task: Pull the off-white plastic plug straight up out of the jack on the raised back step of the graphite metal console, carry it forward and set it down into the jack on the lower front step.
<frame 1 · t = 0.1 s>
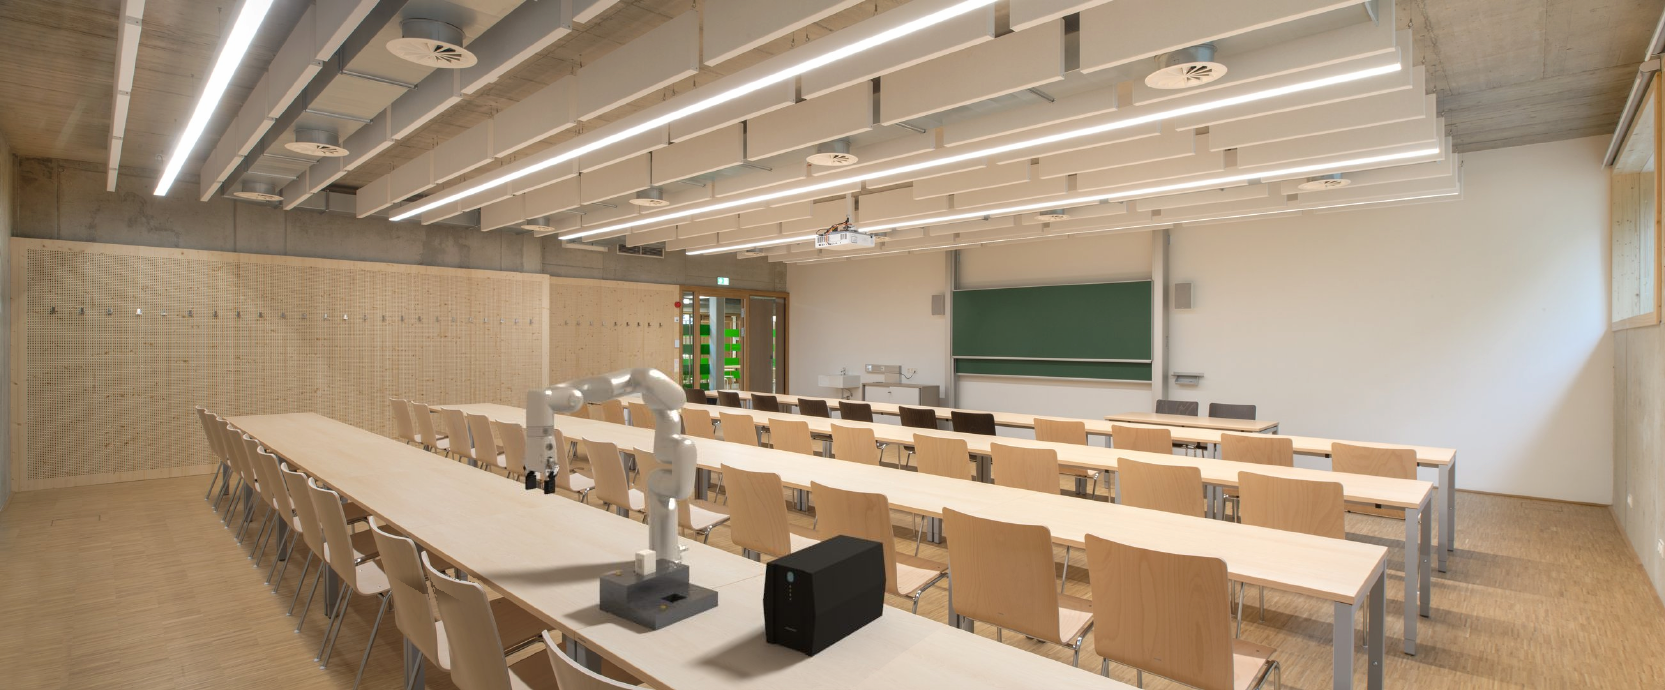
hand: (540, 491, 210), 31 cm above the table, tool pointing down, fingers open, 9 cm apart
plug: (645, 579, 208), point 6 cm above the table, touching console
uninterruptible power supply: (828, 628, 191), on the table
console: (659, 607, 204), on the table
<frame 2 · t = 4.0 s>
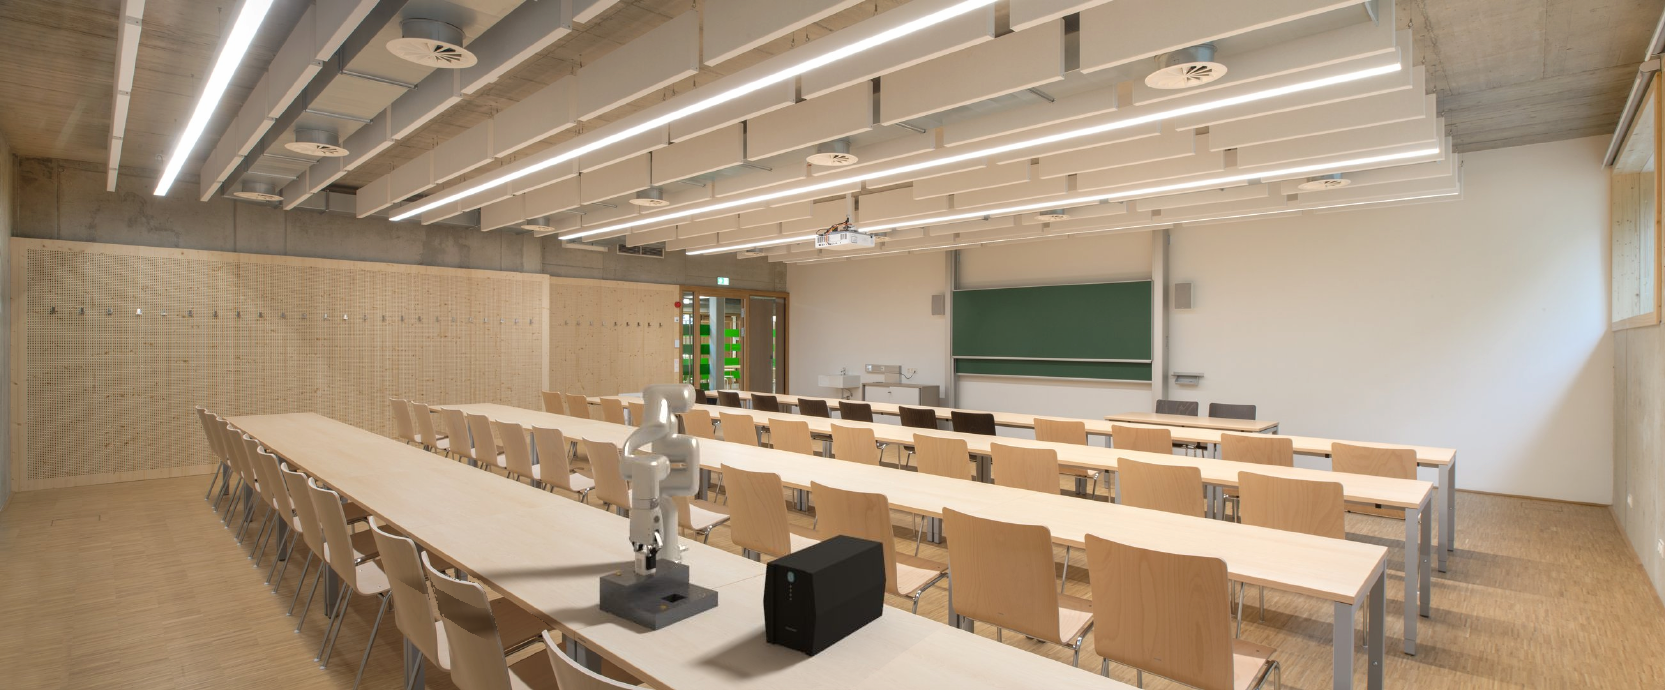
hand: (645, 566, 208), 10 cm above the table, tool pointing down, fingers closed on plug, 4 cm apart
plug: (645, 579, 208), point 7 cm above the table, touching gripper
everything else where it was.
when the fingers open (6 cm above the table, at t = 12.4 s): plug stays where it is, resting on console.
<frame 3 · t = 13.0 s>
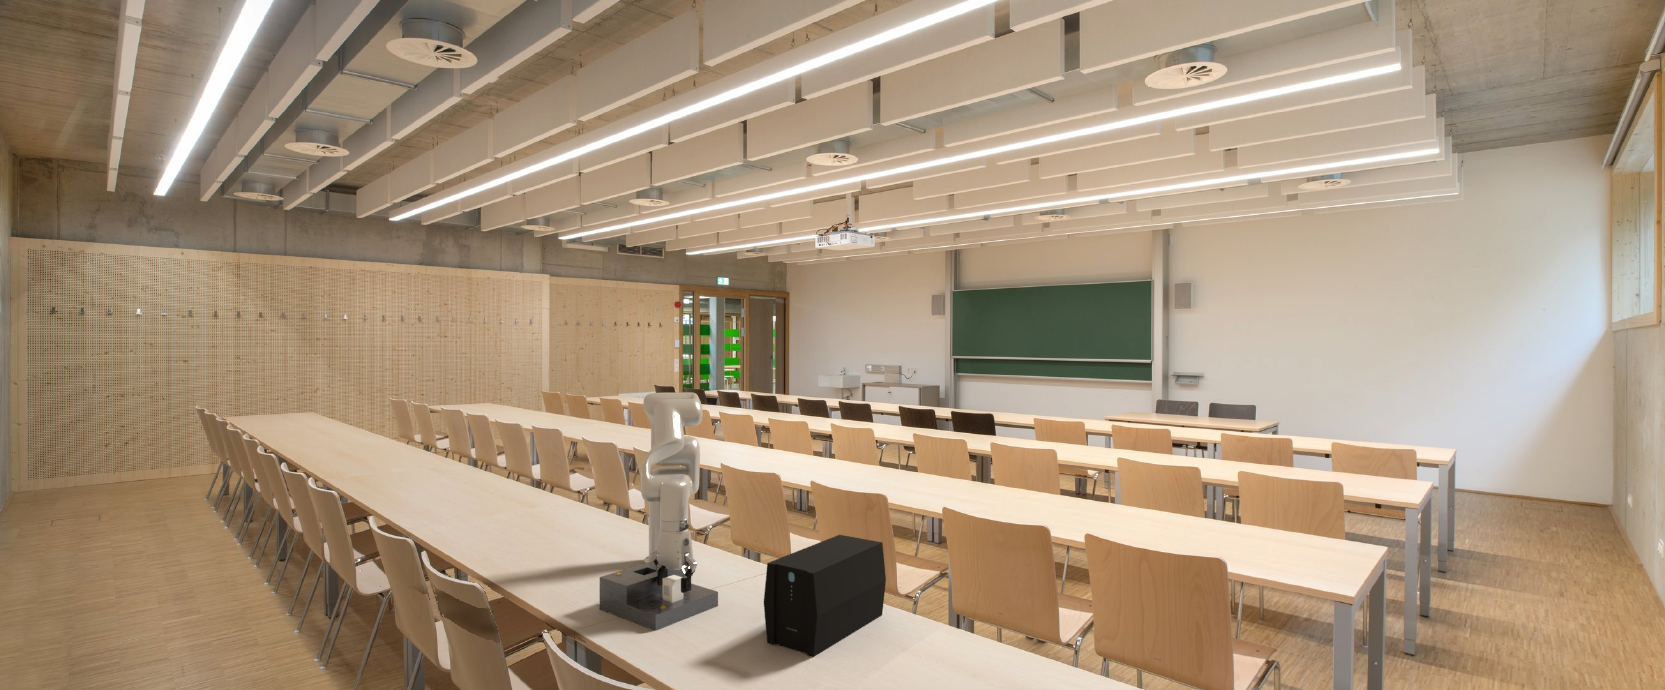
hand: (674, 587, 201), 7 cm above the table, tool pointing down, fingers open, 9 cm apart
plug: (673, 607, 201), point 1 cm above the table, touching console
everything else where it was.
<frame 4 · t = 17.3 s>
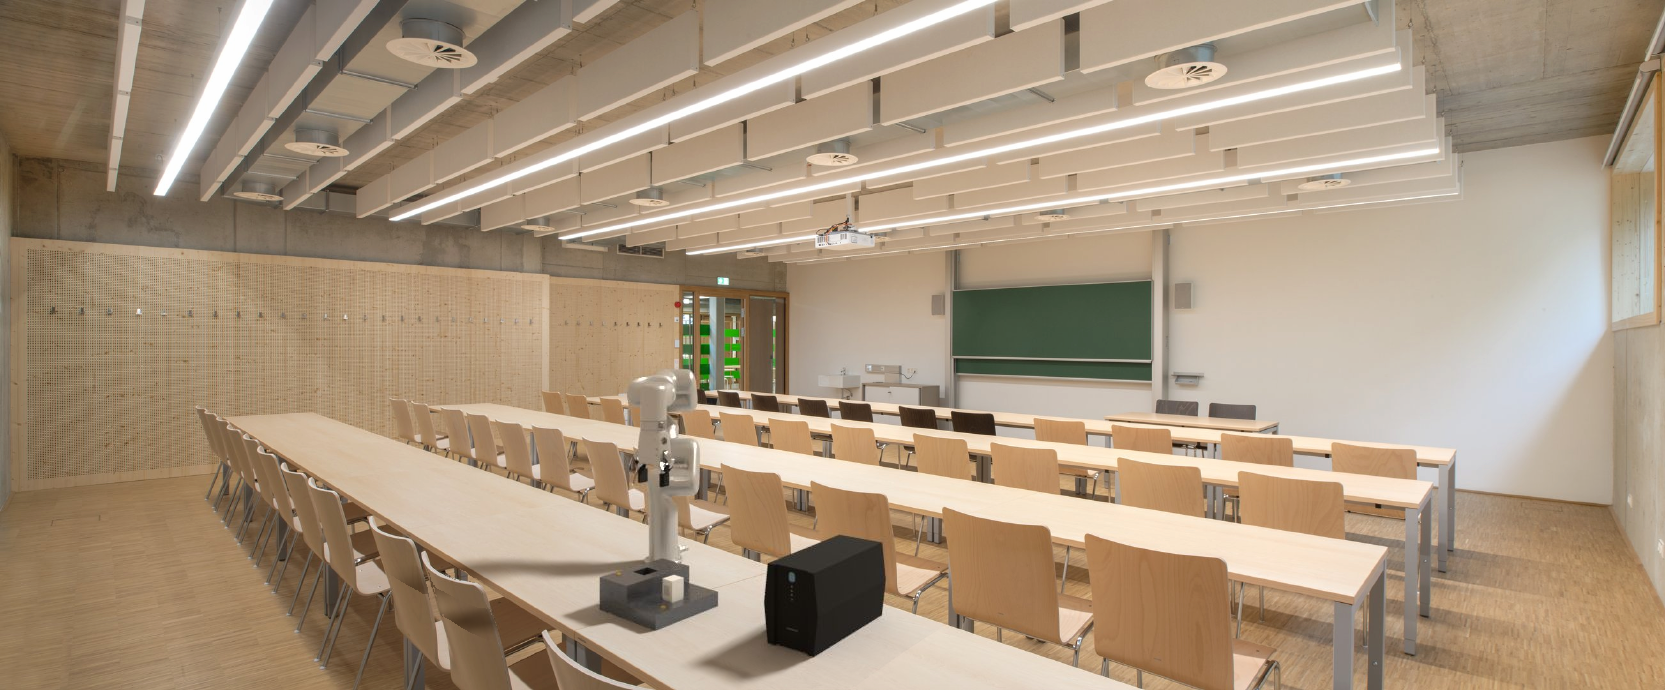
hand: (653, 484, 215), 32 cm above the table, tool pointing down, fingers open, 9 cm apart
nothing on the table moved.
at the end: plug 0.1 cm from the target spot on the console, point 1.5 cm above the console's base; plug tilted 0°; the gripper is holding nothing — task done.
